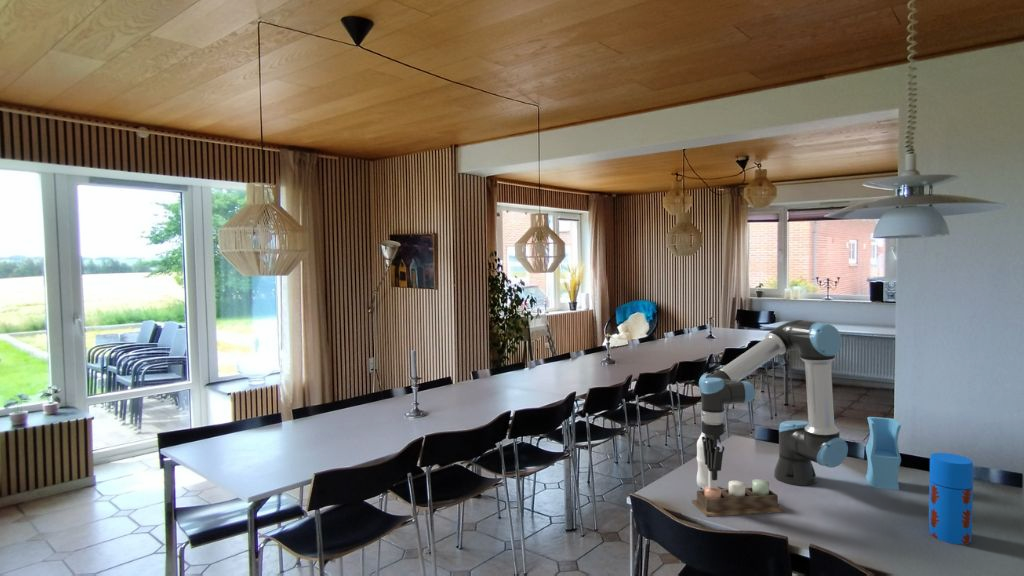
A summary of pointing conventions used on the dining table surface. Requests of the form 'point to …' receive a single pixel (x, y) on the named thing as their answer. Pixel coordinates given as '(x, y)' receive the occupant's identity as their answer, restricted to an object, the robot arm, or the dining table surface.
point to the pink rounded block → (712, 492)
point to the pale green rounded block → (760, 487)
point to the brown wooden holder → (737, 503)
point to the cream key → (736, 489)
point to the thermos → (950, 498)
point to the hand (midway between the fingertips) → (712, 487)
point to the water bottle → (701, 465)
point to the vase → (883, 453)
